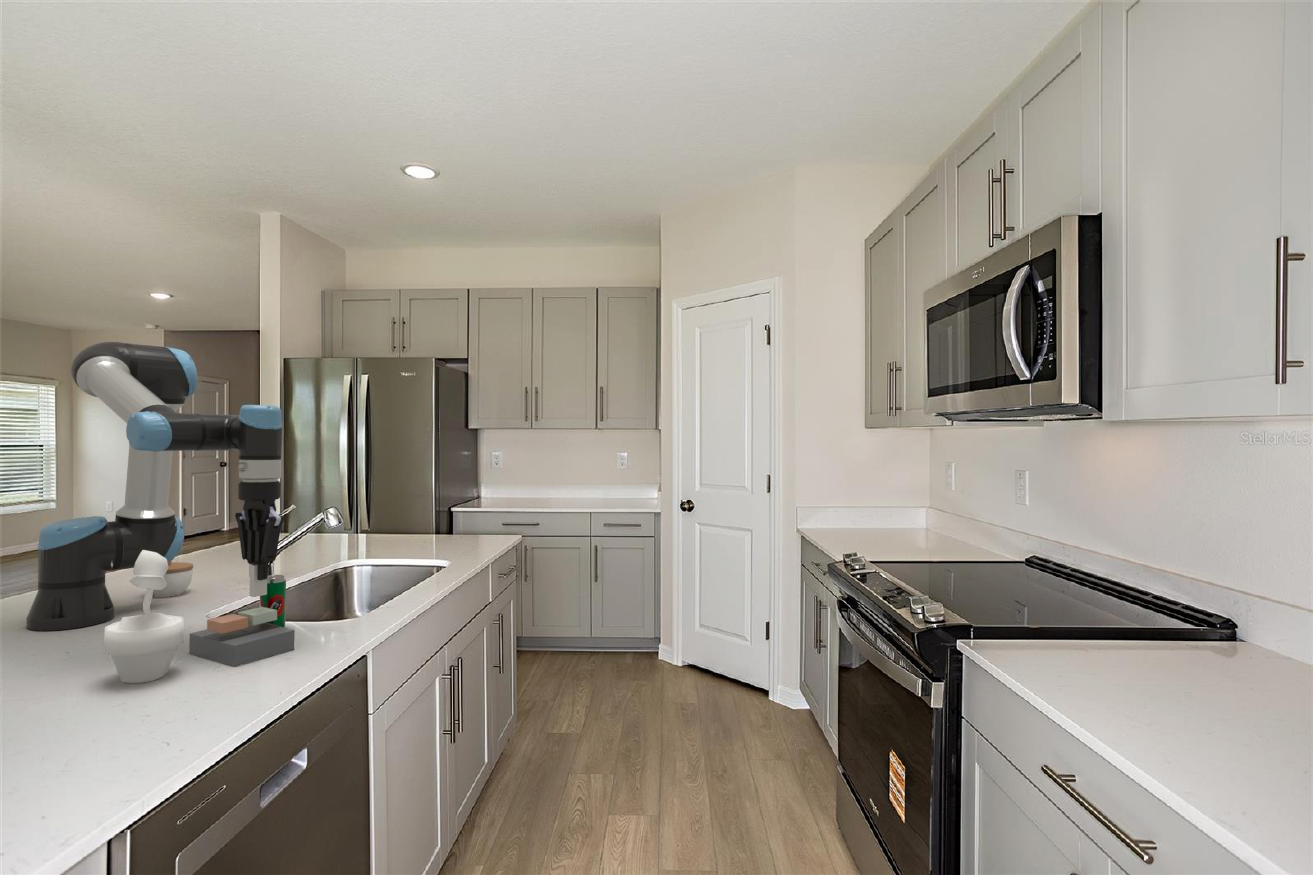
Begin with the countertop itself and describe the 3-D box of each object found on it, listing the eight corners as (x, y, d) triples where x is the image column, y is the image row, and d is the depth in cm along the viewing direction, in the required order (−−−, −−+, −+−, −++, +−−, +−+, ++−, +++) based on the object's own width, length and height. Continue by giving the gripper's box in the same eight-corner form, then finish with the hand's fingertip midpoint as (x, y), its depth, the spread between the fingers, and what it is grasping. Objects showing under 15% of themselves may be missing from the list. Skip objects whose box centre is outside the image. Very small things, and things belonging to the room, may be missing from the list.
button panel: (189, 653, 134) (189, 632, 134) (249, 638, 144) (249, 618, 144) (234, 666, 127) (234, 644, 127) (294, 649, 137) (294, 629, 137)
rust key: (206, 629, 132) (207, 619, 132) (233, 623, 136) (233, 613, 136) (221, 633, 130) (222, 623, 130) (247, 627, 134) (248, 617, 134)
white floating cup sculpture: (113, 671, 123) (116, 535, 123) (190, 663, 128) (192, 532, 128) (89, 696, 112) (91, 545, 112) (173, 687, 116) (176, 542, 116)
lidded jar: (202, 592, 184) (202, 558, 184) (161, 601, 174) (161, 565, 174) (175, 588, 188) (175, 555, 188) (133, 597, 178) (134, 561, 178)
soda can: (290, 627, 153) (291, 574, 153) (275, 634, 148) (276, 579, 148) (269, 626, 153) (270, 573, 153) (253, 633, 148) (254, 578, 148)
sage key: (238, 621, 137) (238, 612, 137) (262, 616, 142) (262, 606, 142) (252, 625, 135) (253, 615, 135) (276, 619, 139) (277, 610, 139)
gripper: (222, 479, 138) (220, 595, 138) (261, 482, 132) (259, 603, 132) (258, 478, 144) (256, 588, 144) (297, 480, 138) (295, 595, 138)
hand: (258, 595), depth 138 cm, fingers closed
